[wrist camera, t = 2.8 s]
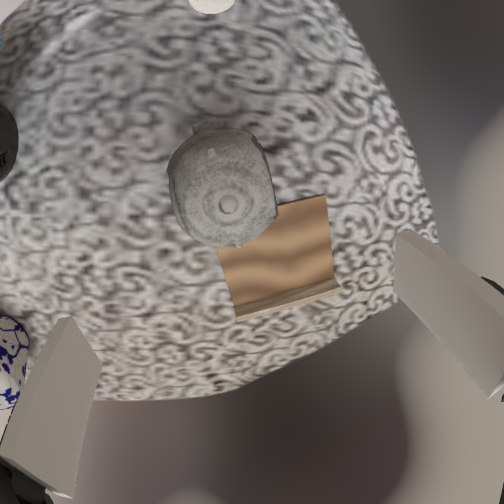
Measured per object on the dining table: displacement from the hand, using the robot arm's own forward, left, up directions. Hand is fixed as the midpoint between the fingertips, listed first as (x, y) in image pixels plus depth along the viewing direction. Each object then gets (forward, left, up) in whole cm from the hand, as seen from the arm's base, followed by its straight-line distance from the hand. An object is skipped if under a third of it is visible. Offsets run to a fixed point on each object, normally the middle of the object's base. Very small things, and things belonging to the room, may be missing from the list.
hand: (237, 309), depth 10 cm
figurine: (0, 0, -37) cm, 37 cm away
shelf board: (+18, +7, -37) cm, 41 cm away
